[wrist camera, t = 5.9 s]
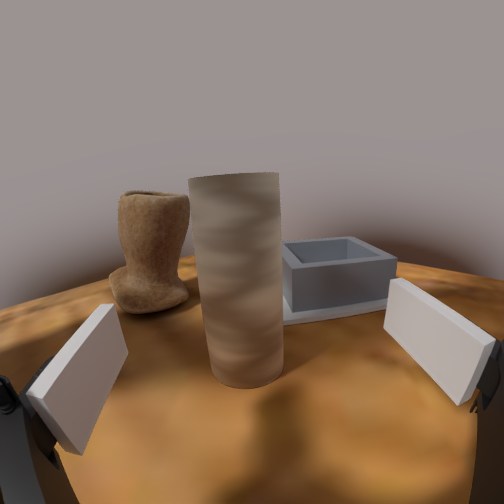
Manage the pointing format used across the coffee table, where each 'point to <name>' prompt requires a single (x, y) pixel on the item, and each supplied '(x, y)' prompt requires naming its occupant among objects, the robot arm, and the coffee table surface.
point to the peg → (240, 274)
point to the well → (333, 279)
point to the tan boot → (150, 251)
